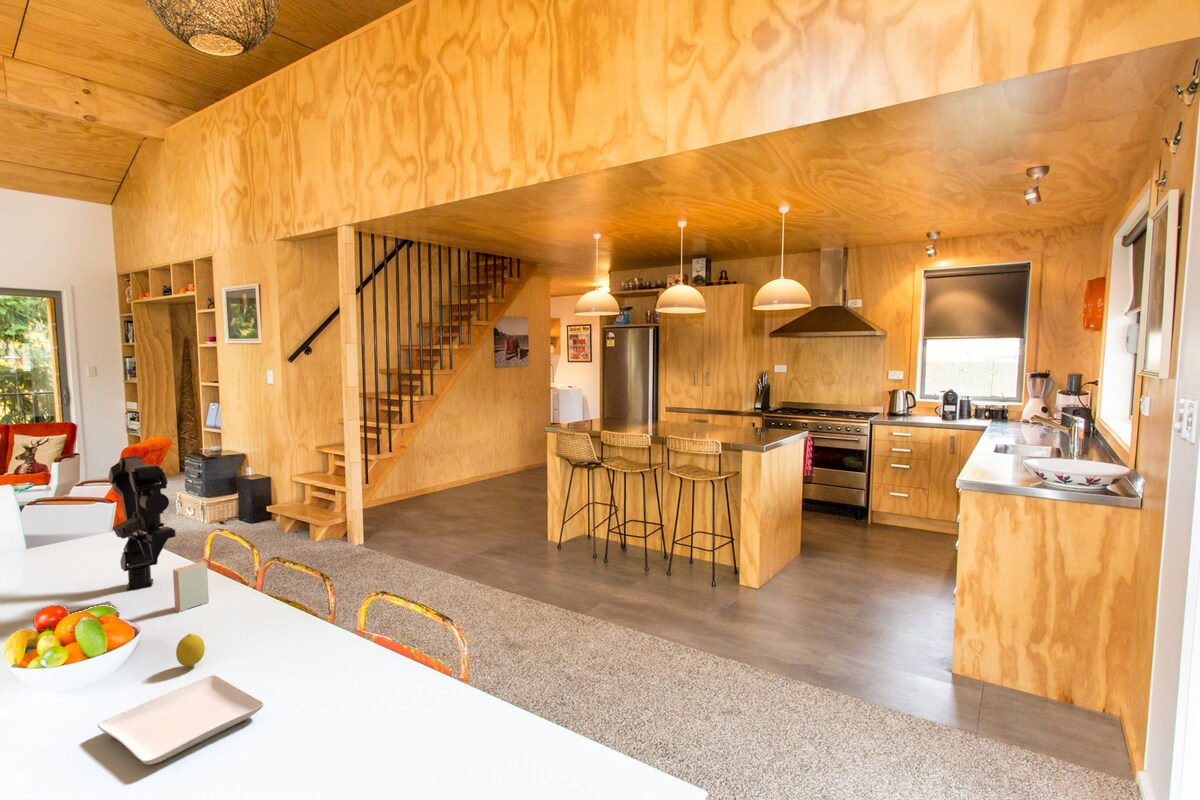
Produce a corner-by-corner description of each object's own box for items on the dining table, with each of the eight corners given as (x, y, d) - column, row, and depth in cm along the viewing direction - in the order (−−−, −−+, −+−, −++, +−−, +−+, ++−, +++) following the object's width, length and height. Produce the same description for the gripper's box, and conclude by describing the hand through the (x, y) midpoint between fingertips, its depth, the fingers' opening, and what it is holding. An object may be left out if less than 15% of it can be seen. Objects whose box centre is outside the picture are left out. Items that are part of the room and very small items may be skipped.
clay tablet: (121, 616, 171) (120, 607, 171) (75, 629, 163) (74, 620, 163) (103, 605, 179) (103, 596, 179) (59, 617, 171) (58, 607, 171)
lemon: (210, 664, 143) (209, 631, 143) (186, 675, 138) (184, 641, 138) (196, 659, 146) (194, 626, 145) (171, 670, 141) (169, 636, 140)
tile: (175, 610, 174) (172, 569, 173) (204, 600, 181) (202, 561, 180) (179, 612, 173) (177, 571, 172) (209, 602, 180) (207, 562, 179)
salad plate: (145, 780, 104) (144, 761, 104) (95, 739, 116) (94, 722, 115) (267, 718, 122) (267, 701, 122) (214, 688, 134) (213, 673, 133)
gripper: (101, 509, 180) (104, 561, 181) (131, 517, 170) (134, 572, 171) (145, 501, 189) (147, 550, 190) (175, 509, 180) (177, 560, 181)
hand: (150, 558), depth 183 cm, fingers open, 5 cm apart
